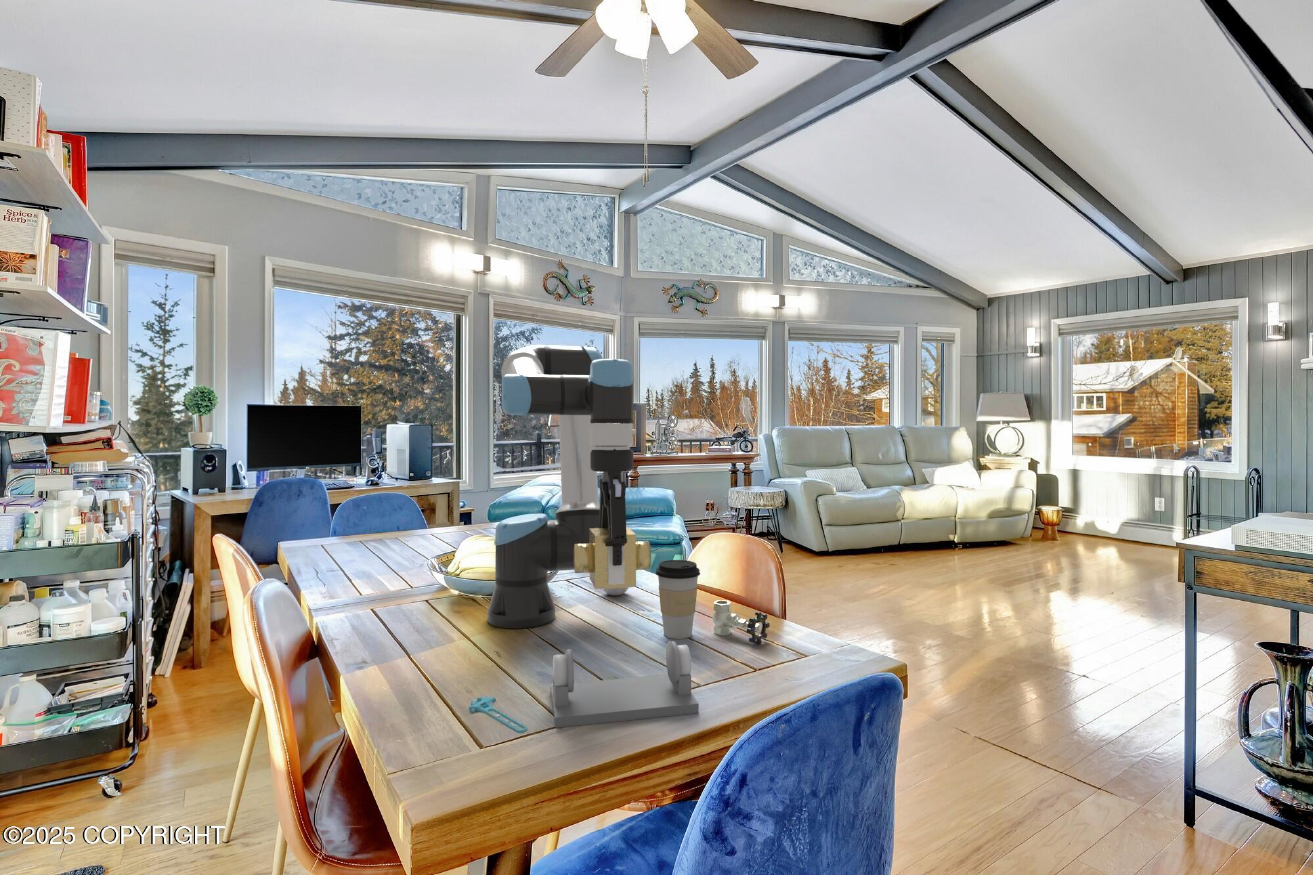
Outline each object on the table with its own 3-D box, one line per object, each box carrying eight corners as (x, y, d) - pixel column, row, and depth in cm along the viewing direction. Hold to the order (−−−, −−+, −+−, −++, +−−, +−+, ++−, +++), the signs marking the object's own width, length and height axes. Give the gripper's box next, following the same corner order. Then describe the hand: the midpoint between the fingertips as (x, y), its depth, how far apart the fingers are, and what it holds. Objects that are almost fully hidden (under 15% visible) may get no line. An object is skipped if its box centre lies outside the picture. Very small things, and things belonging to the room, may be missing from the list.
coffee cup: (686, 645, 130) (686, 571, 130) (646, 636, 135) (646, 565, 135) (707, 631, 138) (708, 562, 138) (669, 624, 143) (670, 557, 143)
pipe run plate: (550, 693, 107) (550, 638, 107) (679, 682, 112) (679, 629, 112) (555, 727, 95) (555, 666, 95) (698, 712, 100) (698, 654, 100)
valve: (704, 634, 137) (750, 648, 128) (704, 603, 137) (750, 615, 128) (724, 627, 142) (769, 640, 133) (724, 597, 141) (770, 609, 133)
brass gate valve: (572, 579, 116) (572, 529, 116) (643, 575, 119) (643, 526, 118) (577, 590, 108) (577, 536, 108) (653, 585, 111) (653, 533, 111)
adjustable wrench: (461, 702, 102) (489, 693, 106) (461, 708, 102) (489, 698, 106) (510, 732, 92) (539, 721, 96) (510, 739, 92) (539, 727, 96)
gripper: (645, 450, 103) (645, 591, 104) (622, 446, 124) (623, 564, 124) (598, 450, 102) (598, 594, 102) (583, 446, 122) (584, 566, 123)
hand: (612, 577), depth 113 cm, fingers closed on brass gate valve, 8 cm apart
